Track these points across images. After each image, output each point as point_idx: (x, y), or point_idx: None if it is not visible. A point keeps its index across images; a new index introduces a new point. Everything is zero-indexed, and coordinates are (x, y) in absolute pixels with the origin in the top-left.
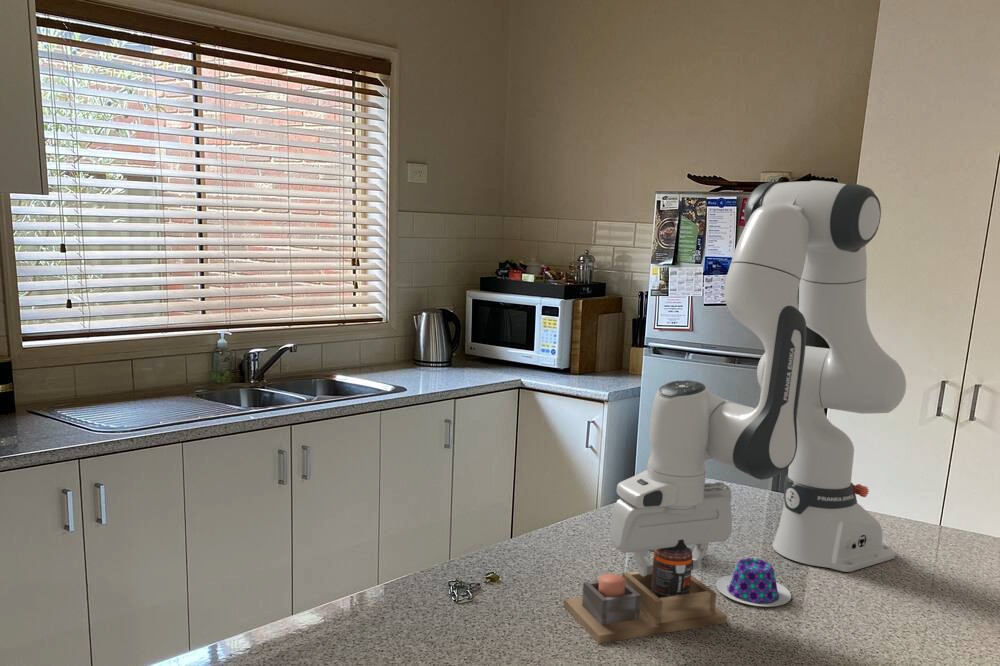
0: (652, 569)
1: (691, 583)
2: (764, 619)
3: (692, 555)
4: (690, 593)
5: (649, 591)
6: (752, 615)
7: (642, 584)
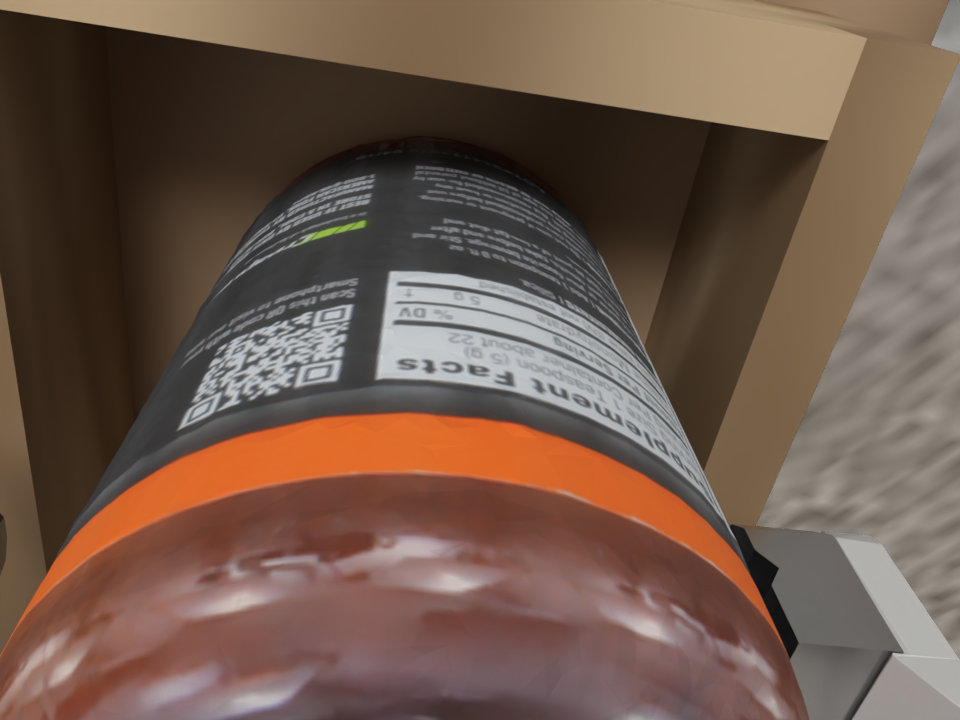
0: (166, 371)
1: (692, 444)
2: (941, 605)
3: (879, 690)
4: (664, 375)
5: (18, 510)
6: (933, 549)
7: (12, 344)
